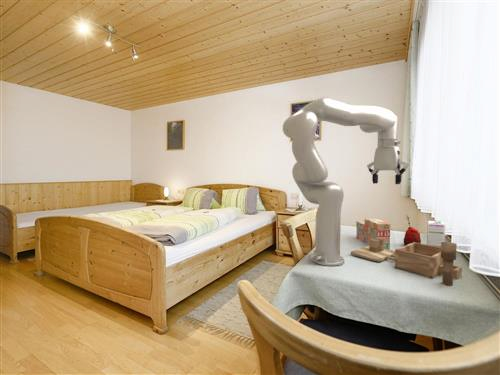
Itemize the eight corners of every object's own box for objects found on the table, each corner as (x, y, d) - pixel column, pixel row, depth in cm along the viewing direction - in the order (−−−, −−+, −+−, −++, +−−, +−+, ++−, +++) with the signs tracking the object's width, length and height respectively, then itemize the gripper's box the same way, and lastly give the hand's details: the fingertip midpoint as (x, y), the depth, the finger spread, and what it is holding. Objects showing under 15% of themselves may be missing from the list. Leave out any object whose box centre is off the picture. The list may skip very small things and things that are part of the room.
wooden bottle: (452, 287, 78) (454, 245, 78) (438, 283, 81) (439, 243, 81) (456, 284, 81) (458, 243, 80) (442, 280, 84) (443, 241, 83)
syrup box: (444, 259, 104) (446, 224, 103) (427, 257, 107) (428, 222, 106) (443, 255, 108) (444, 221, 108) (426, 253, 112) (427, 220, 111)
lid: (390, 267, 96) (391, 249, 96) (350, 256, 110) (350, 240, 109) (409, 259, 106) (410, 242, 105) (370, 249, 119) (370, 234, 119)
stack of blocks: (355, 238, 139) (356, 215, 138) (367, 238, 139) (367, 215, 138) (376, 250, 117) (377, 223, 117) (390, 249, 118) (390, 223, 117)
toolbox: (451, 283, 81) (451, 262, 81) (394, 268, 95) (395, 249, 94) (466, 272, 91) (467, 252, 90) (413, 259, 104) (413, 242, 104)
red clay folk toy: (422, 249, 117) (423, 217, 116) (404, 248, 120) (405, 216, 119) (418, 245, 124) (419, 214, 123) (402, 243, 127) (403, 213, 126)
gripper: (412, 143, 107) (411, 184, 108) (372, 146, 121) (371, 183, 122) (404, 141, 103) (403, 184, 104) (363, 145, 117) (362, 183, 118)
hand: (386, 183), depth 113 cm, fingers open, 9 cm apart
